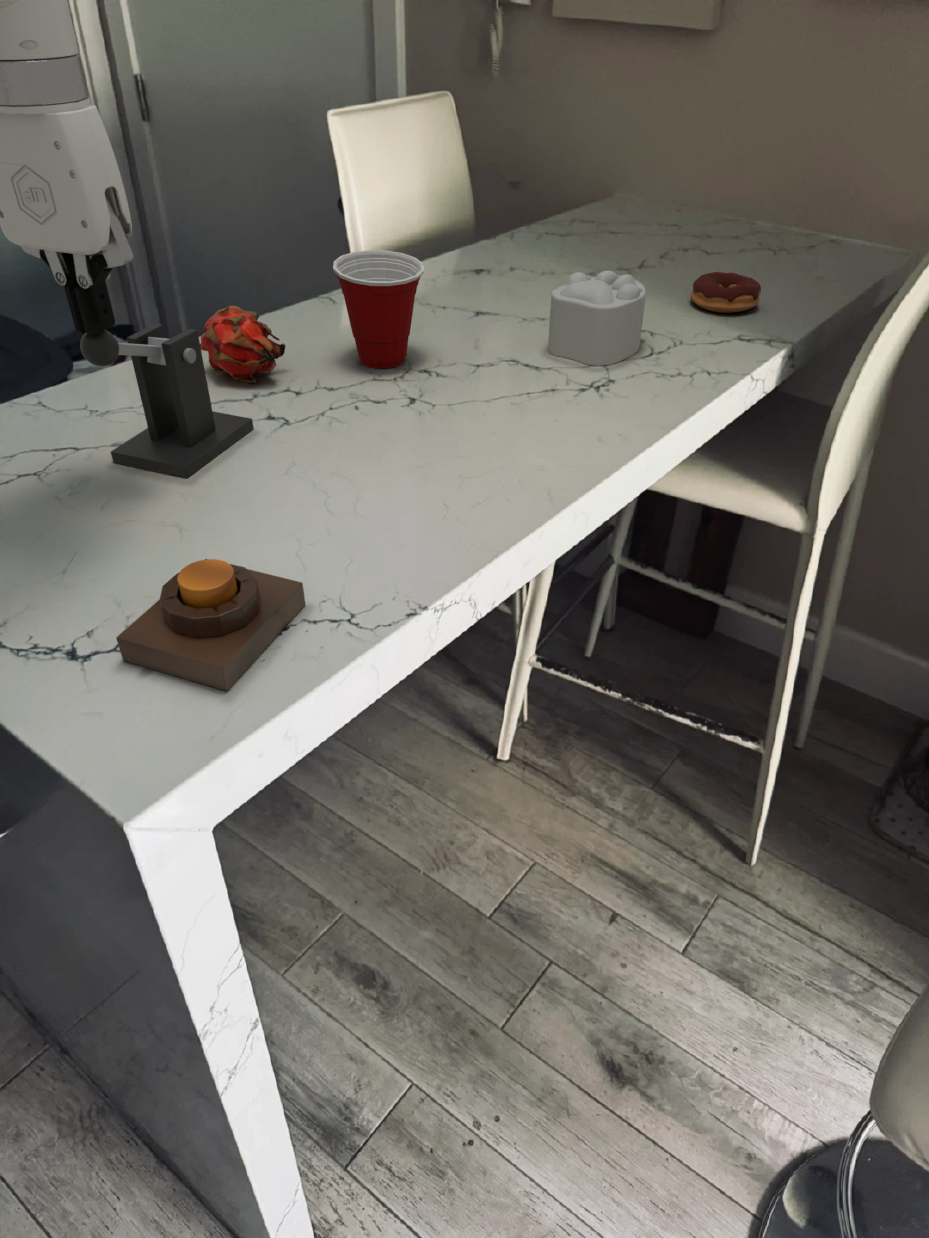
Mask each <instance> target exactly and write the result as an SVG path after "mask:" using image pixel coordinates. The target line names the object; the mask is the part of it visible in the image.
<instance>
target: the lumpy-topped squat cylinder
mask: <svg viewBox="0 0 929 1238" xmlns="http://www.w3.org/2000/svg"><path fill="white" fill-rule="evenodd" d="M550 294H551V295H550V310H549V324H548V325H549V326H548V341H547V351H548V353H549V354H551V355H553V356H556V357H560V358H565V359H569V360H573V361H576V362H579V363H581V364H584V365H588V366H596V367H602V366H610V365H615V364H617V363H620V362H621V361H624V360H626V359H628V358H630V357H631V356H633V355H635V354H636V353H637V352H638V351H639V350H640V345H641V337H642V329H643V322H644V312H645V305H646V297H647V290H646V287H645V285H643V283H641V282H640V281H638V280H636V279H635V278H634V277H633V275H631V274H626V273H625V274H622V275H620V274H616V272H614V271H612V270H609V269H608V270H607V269H606V270H603V271H601V272H600V273H598V274H596V276H590V275H587V274H586V273H584V272H581V271H576V272H574V273H572V274H571V275H570V276H569V277H568V278H567V281H566V283H565V284H562V285H560V286H559V287H557V288H555V289H553V290H552V291H551V293H550Z"/></svg>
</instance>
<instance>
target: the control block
mask: <svg viewBox="0 0 929 1238" xmlns="http://www.w3.org/2000/svg"><path fill="white" fill-rule="evenodd" d="M207 559H208V558H205V559H204V560H207ZM229 564H230V565H231V566H232V567H233V570H234V574H235V580H236V585H237V593H236V596H235V597H234V598H233V599H232V600H231V601H229V602H227V603H224V604H222V605H219V606H217V607H211V608H199V609H197V608H193V607H190V606H187V605H186V604H185V603H184V602H183V600H182V597H181V593H180V589H179V585H178V580H177V578H178V574H179V572H177V573H176V574H174V575H173V576H172V577H171V578H170V579H169V580H168V581H167V582H165V583H164V584H163V585H162V586H161V587H162V588H161V591H160V596H159V599H158V600H157V601H156V602H154V603H153V604H152V605H151V606H150V607H149V608H148V609H147V610H145V611H144V612H143V613H142V614H140V616H139V617H137V618H136V620H134V621H133V622H132V623H130V625H128V626H127V627H126V628H125V629H124V630H123V631H122V632H121V633H119V634H118V635H116V638H115V639H116V642H117V645H118V649H119V653H120V655H121V658H122V661H123V662H126V663H130V664H132V665H133V664H134V665H137V666H140V667H144V668H147V669H150V670H153V671H157V672H160V673H164V674H167V675H170V676H174V677H177V678H181V679H184V680H188V681H190V682H195V683H198V684H201V685H204V686H207V687H211V688H215V689H218V690H221V691H225V692H228V691H229V690H230V689H231V688H232V687H233V685H235V684H236V682H237V681H238V680H239V679H240V678H241V677H242V676H243V674H244V673H245V672H246V671H247V670H248V669H249V668H250V667H251V666H252V664H253V663H254V662H255V661H256V660H257V659H258V658H259V657H260V656H261V655H262V653H264V652H265V650H266V649H267V648H268V647H269V645H271V643H273V641H275V639H276V638H277V637H278V636H279V635H280V634H281V633H282V631H283V630H284V629H285V628H286V627H287V626H288V625H289V624H290V623H291V622H292V621H293V619H294V618H296V616H297V615H299V613H300V612H301V610H303V608H304V607H305V606H306V598H305V592H304V591H305V590H304V583H303V581H298V580H294V579H290V578H285V577H282V576H279V575H273V574H271V573H270V574H269V573H265V572H261V571H257V570H253V569H249V568H246V567H245V566H240V565H236V564H232V563H229Z"/></svg>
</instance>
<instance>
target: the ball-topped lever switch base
mask: <svg viewBox="0 0 929 1238" xmlns="http://www.w3.org/2000/svg"><path fill="white" fill-rule="evenodd" d="M148 337H156V338H167V335H166V330H165V326H164V324H162V323H157V322H155V323H153V324H151V325H149V326H147V327H145V328H142V329H141V330H139V331H138V332H135V333H133V334H131V335H129V336H128V337H126V341H127V343H130V344H144V345H148ZM168 339H169V340H167V341H165V342H163V343H162V349H163V353H164V358H165V363H166V366H165V365H159V364H154V363H148V362H147V356H130V358H131V362H132V367H133V370H134V375H135V380H136V383H137V387H138V391H139V396H140V401H141V404H142V408H143V413H144V416H145V421H146V425H147V427H146V428H145V429H144V430H142V431H140V432H139V433H138V434H136V435H134V436H133V437H131V438H130V439H128V440H127V441H124V443H121V444H120V445H118V446H117V447H115V448H114V449H112V450H111V451H110V455H111V459H112V463H115V464H120V465H125V466H129V467H134V468H137V469H143V470H146V471H147V470H148V471H151V472H152V471H153V472H157V473H160V474H161V473H162V474H165V475H166V474H167V475H171V476H174V477H175V476H176V477H180V478H184V479H188V478H189V477H191V476H192V475H194V474H195V473H197V472H198V471H199V470H200V469H202V468H203V467H204V466H206V465H207V464H208V463H210V462H211V461H212V460H214V459H215V458H216V457H218V456H219V455H221V454H222V453H223V452H225V451H226V450H227V449H229V448H230V447H231V446H233V445H234V444H235V443H237V442H238V441H240V440H241V439H242V438H243V437H245V436H246V435H248V434H249V433H250V432H251V431H253V430H254V429H255V427H254V422H253V418H251V417H246V416H241V415H235V414H230V413H223V412H219V411H213V406H212V402H211V396H210V392H209V385H208V381H207V375H206V370H205V364H204V363H205V362H204V359H203V355H202V353H203V352H202V350H201V347H200V344H201V341H200V336H199V332H198V329H194V328H188V329H185V330H184V331H182V332H180V333H178V334H176V335H174V336H173V337H171V338H168Z"/></svg>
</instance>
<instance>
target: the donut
mask: <svg viewBox="0 0 929 1238" xmlns="http://www.w3.org/2000/svg"><path fill="white" fill-rule="evenodd" d="M761 293H762V287H761V284H760V282H759V281H756V279H754V278H753V277H749V276H746V275H744V274H739V273H736V272H723V271H722V272H721V271H714V272H708V273H703V274H700V275H699V277H697V278H696V279H695V280H694V281H693V283H692V291H691V292H690V294H689V296H690V300H692V301H693V303H694V304H695V305H697V306H698V307H699V308H701V309H704V310H707V311H709V312H715V313H722V314H732V313H739V312H744V311H748V310H750V309H752V308H754V307H756V306H757V305H758V303H759V302H760V296H761Z"/></svg>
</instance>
